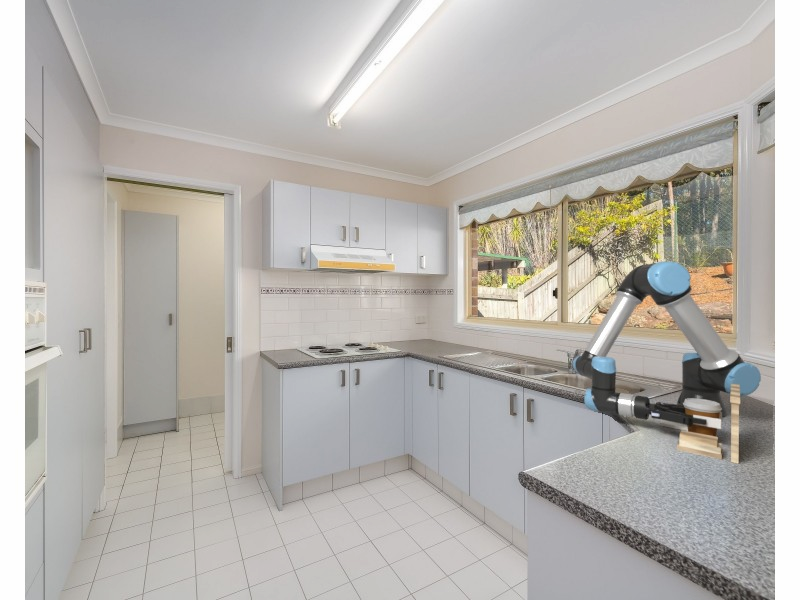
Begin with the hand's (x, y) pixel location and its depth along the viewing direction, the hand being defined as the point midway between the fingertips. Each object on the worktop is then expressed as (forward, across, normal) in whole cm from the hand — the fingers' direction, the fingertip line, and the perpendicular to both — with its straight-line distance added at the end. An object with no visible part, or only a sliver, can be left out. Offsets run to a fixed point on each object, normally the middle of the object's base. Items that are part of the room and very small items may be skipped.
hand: (721, 420), depth 116 cm
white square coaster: (-11, -14, -7) cm, 19 cm away
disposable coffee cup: (-5, 0, -7) cm, 9 cm away
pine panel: (+3, +3, -7) cm, 8 cm away
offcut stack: (-5, +12, -8) cm, 15 cm away
